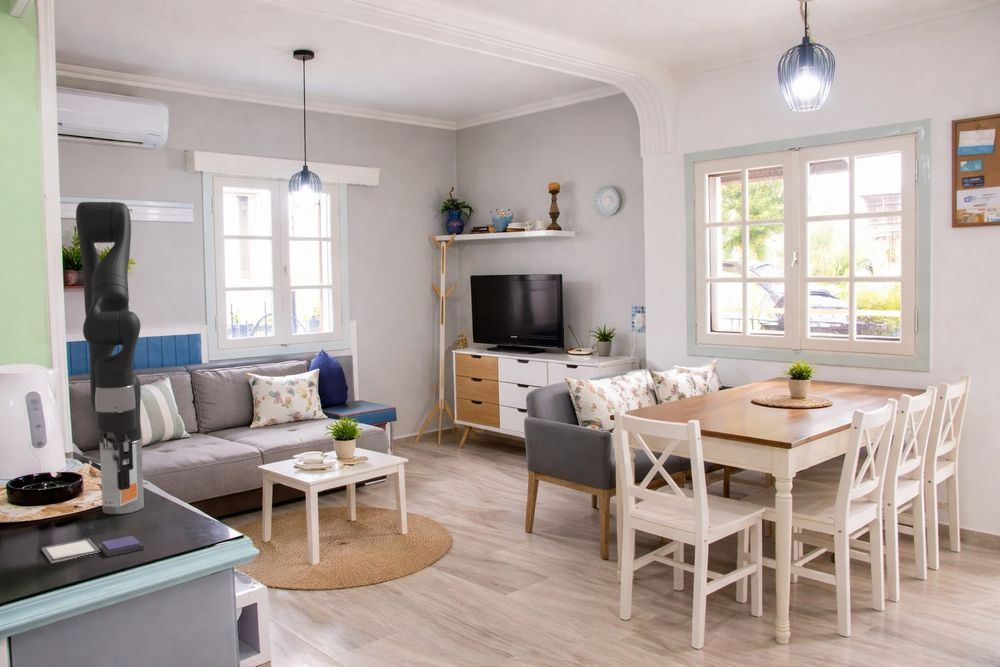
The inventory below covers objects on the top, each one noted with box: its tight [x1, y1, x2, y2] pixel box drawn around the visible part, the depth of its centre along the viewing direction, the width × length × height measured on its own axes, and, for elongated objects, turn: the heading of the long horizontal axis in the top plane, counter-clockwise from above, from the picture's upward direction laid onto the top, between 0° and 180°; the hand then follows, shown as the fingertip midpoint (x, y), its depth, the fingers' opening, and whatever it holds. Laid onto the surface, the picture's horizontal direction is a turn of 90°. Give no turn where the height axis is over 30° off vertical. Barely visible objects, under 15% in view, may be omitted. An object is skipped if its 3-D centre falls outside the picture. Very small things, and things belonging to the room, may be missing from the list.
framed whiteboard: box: [41, 537, 101, 564], centre depth 167 cm, size 10×9×1 cm
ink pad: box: [98, 535, 144, 557], centre depth 168 cm, size 7×7×1 cm
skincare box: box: [100, 445, 138, 507], centre depth 167 cm, size 6×4×12 cm
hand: (119, 484), depth 168 cm, fingers closed on skincare box, 7 cm apart
